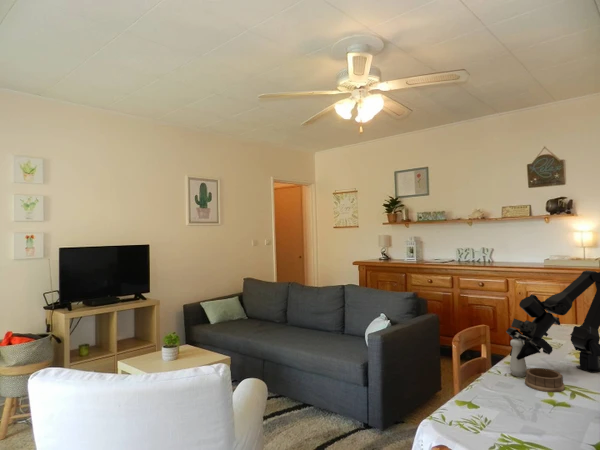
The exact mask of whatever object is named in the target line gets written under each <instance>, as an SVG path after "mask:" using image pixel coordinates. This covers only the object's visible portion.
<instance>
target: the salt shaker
mask: <svg viewBox="0 0 600 450" xmlns="http://www.w3.org/2000/svg"><path fill="white" fill-rule="evenodd" d="M523 345H524V343H523V341H522V340H519V339H513V338H512V339H511V340H510V346H511V349H512V354H511V356H510V362H509V367H508V368H509V371H510V372H511V374H512V376H515V377H517V378H524V377H526V370H527V369H528V367H527V363H526V359H525V358H526V357H525V358H522V359H520V360H518V359H517V358H516V357H517V355H518V354H519V352H520V351H521V349H522V347H523ZM512 346H513V347H512Z"/></svg>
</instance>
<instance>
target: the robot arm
mask: <svg viewBox="0 0 600 450" xmlns="http://www.w3.org/2000/svg"><path fill="white" fill-rule="evenodd" d="M593 284H594V285H595V288H596V289H595V290H596V292H595V294H594V296H593V299H592V301H591V303H590V306H589V309H588V310H587V313H586V316H585V318H584V321H583V323H582V324H581V325H579V326H577V325H575V326H573V328H572V331H571V333H570V334H569V336H570V341H571V344H572V345H573V348H574V349H575V351H577V352H578V353H579V356H578V357H579V359H578V360H579V361H578V362H579V365H576V368H577V369H579V370H583V371H586V372H590V373H598V372H600V333H599V329H600V271H595V270H588V269H587V270H584V271H581V274H580V275H579V276H578V277H577V278H575V279H574V280H573V281H572V282H571V283H570V284H569V285H568V286H566V287H565V288H564V289H563V290H562V291H561V292H559V293H555V294H552V295H550V296H549V297H547V298H546V299H545V300H542V301H541V300H540V299H539V297H538V296H537V295H535V294H529V296H527V297H524V298H523V299H521V300H520V301H519V307H520V309H522V310H523V311H524V312H525V314H527V315H528V316H529V317H530V318H534V319H533V320H532V321H530V320H527V319H526V320H525V321H523V320H520V319H516V318H513V320H512V323H511V327H508V328H507V330H506V331H505V332H506V333H507V334H508V335H509V336H510V337H511V338H512V339H519V340H522V341H523V343H524V345H523V347H522V349H521V351H520V352H519V354H518V355H517V357H516V358H517V359H518V360H520V359H522V358H527V357H530V356H533V355H535V354H541V349H542V352H543V353H544V354H546V355H549V356H550V355H551V354H552V352H553V346H552V345H550V343H549V342H548V341H547V340H546V339H545V338H544V337H547V336H549V333H548V331H549V329H551V327H552V326H553V325H557V326H561V322H560V317H557V316H555V315H558V316H565V315H566V314H568V312H569V311H570V310H571V309H572V307H573V302H574V301H575V300H576V299H578V297H580V296H581V295H582V294H583V293H584V292H585V291H587V289H589V288H590V287H591V286H592V285H593ZM512 347H513V346H511V350H510V352H509V356H510V357H511V354H512Z"/></svg>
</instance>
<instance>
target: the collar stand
mask: <svg viewBox="0 0 600 450" xmlns="http://www.w3.org/2000/svg"><path fill="white" fill-rule="evenodd" d="M563 378H564V375H563V374H562V373H560V372H559V371H556V370H553V369H549V368H543V367H532V368H530V367H529V368H527V370H526V374H525V378H524V384H525V386H527V387H529V388H530V389H532V390H536V391H540V392H545V393H546V392H547V393H560V392H563V391H564V390H565V388H566V387H565V383H564V379H563Z"/></svg>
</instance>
